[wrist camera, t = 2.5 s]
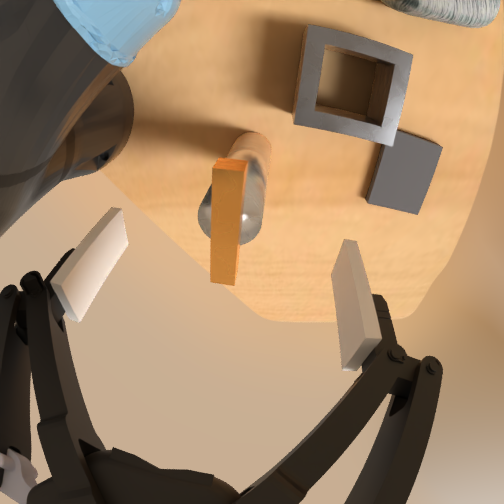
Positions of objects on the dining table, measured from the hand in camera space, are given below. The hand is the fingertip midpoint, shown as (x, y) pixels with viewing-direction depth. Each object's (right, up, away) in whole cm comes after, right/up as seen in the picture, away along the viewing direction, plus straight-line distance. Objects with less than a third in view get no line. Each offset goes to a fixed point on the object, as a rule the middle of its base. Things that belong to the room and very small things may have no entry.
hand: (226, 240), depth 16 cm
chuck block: (+10, +16, +6) cm, 20 cm away
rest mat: (+18, +8, +11) cm, 23 cm away
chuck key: (+1, +10, +12) cm, 16 cm away
